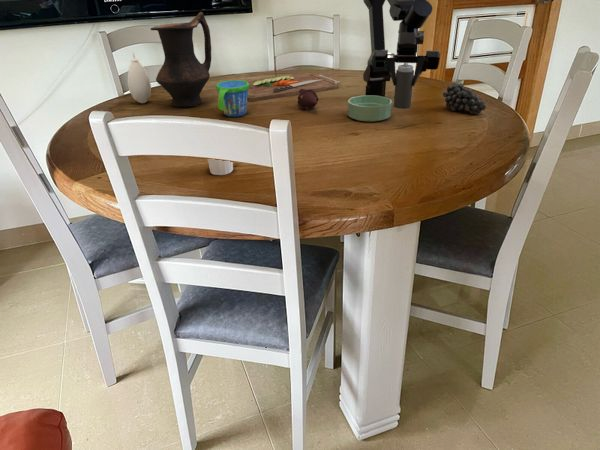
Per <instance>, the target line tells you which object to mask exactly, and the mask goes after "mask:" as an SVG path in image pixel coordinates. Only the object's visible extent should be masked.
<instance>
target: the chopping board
mask: <svg viewBox="0 0 600 450" xmlns="http://www.w3.org/2000/svg"><path fill="white" fill-rule="evenodd" d="M245 81H246V82H248V83H249V88H248V94H249V97H248V98H247V102H258V101H266V100H270V99H278V98H283V97H291V96H297V95H298V96H299V90H300V89H305V90H309V89H311V90H312V91H314V92H315V93H317V92H322V91H329V90H337V89H338V88H339V84H340V81H338V80H335V79H333V78H330V77H327V76H326V75H323V74H318V75H317V74H315V73H311V72H301V73H295V74H287V75H281V76H272V77H265V78H256V79H249V80H245Z"/></svg>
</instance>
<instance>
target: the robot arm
mask: <svg viewBox="0 0 600 450" xmlns="http://www.w3.org/2000/svg"><path fill="white" fill-rule="evenodd" d="M362 1H363V3H364V4H365V6H366V8H367V9H368V19H369V33H370V35H369V36H370V51H371V52H370V55H369V57H368V59H367V63H366V64H367V66H366V68H365V70H364V72H363V75H362V77H363V78H362V79H363V81H364V82H366V85H365V92H364V93H365V95H375V96H382V97H386V98H389V97H388V96H386V88H387V82H390V81H392V85H393V87H395V83H396V64H404V63H408V64H416V66H415V69H414V77H413V87H415V85H416V83H417V81H418V79H419V78H420V76H421V75H422V74H423V72H427V70H431V71H432V70H435V71H436V70H438V69H439V64H440V59H441V52H440V51H439V50H431V49H430V50H429V49H427V50H426V51H425V55H417V53H418V48H419V47H418V46H419V45H424V39H425V31H424V30H419V29H421V28H423V26H424V25H425V23H426V22H427V20H428V19H429V17H430V16H431V14H432V12H433V5H432V4H431V3H430V2H429V1H428V0H362ZM386 1H387V2H388V4H389V11H388V12H389V16H390V17H391V20H392V21H394V22H398V21H399V26H398V31H397V33H398V37H397V42H396V43H397V44H396V54H395V53H393V52H389V51H388V50H389V49H386V40H385V22H384V4H385V3H386Z"/></svg>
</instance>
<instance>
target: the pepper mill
mask: <svg viewBox="0 0 600 450" xmlns="http://www.w3.org/2000/svg"><path fill="white" fill-rule="evenodd" d="M395 73H396V83H395V86H394V93H393V94H394V95H393V104H392V106H393V107H394V108H395V109H399V110H406V109H407V110H408V109H410V108H411V107H412V106H411V105H412V97H413V96H412V95H413V87H414V86H413V78H414V74H415V69H414V66H413V65H412V64H409V63H403V64H399V65H397V69H395Z"/></svg>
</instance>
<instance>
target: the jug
mask: <svg viewBox="0 0 600 450" xmlns="http://www.w3.org/2000/svg"><path fill="white" fill-rule="evenodd" d="M199 24H200V25H201V28H202V31H203V39H204V62H202V63H201V62H200V60H198V58H197V56H196V54H195V47H194V40H193V37H194V35H193V33H194V29H195V28H197V27H198V26H199ZM150 31H157V32H158V36H159V39H160V42H161V46H162V50H163V54H164V61H163V64H162V65H161V67H160V69H159V71H158V73H157V75H156V78H155V81H156V83H157V84H158V85H160V86H161V87H162V88H163V90H165V91H166V92H167V93H168V94H169V95H170V97H171V98H172V99H171V106H172V107H177V108H183V107H186V108H187V107H195V106H199V105H201V104H203V99H202V97H201V93H202V91H203V89H204V88H205V86H206V84H207V83H208V81H209V79H210V76H211V74H210V69H211V65H212V40H211V39H212V38H211V31H210V26H209V24H208V22H207V20H206V18H205V14H204V13H203V12H202V11H200V12H199V13H197V15H196V16H195V17H194V18H193V19H191V20H190V21H189V22H177V23H176V22H175V23H166V24H160V25H157V26H152V27H150Z"/></svg>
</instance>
